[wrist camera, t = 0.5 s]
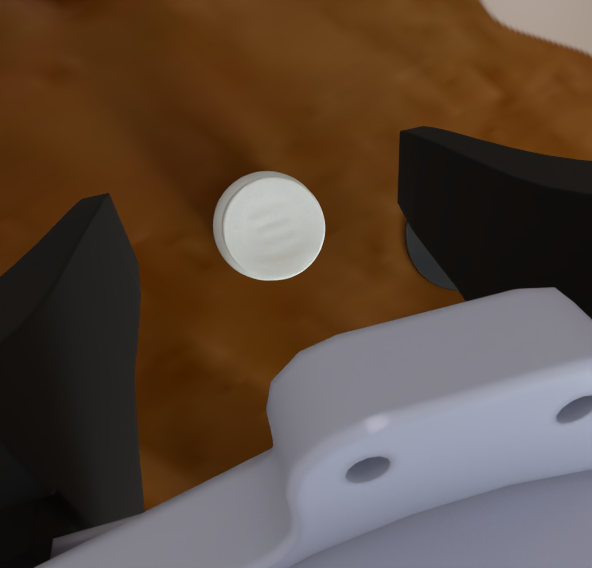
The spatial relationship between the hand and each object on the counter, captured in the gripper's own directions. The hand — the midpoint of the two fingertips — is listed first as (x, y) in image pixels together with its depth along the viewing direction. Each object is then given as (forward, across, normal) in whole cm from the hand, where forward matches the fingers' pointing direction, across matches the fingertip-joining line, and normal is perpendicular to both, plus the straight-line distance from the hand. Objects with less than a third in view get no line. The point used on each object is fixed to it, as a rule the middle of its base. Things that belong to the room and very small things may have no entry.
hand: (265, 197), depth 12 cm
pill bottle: (+19, -1, +13) cm, 23 cm away
